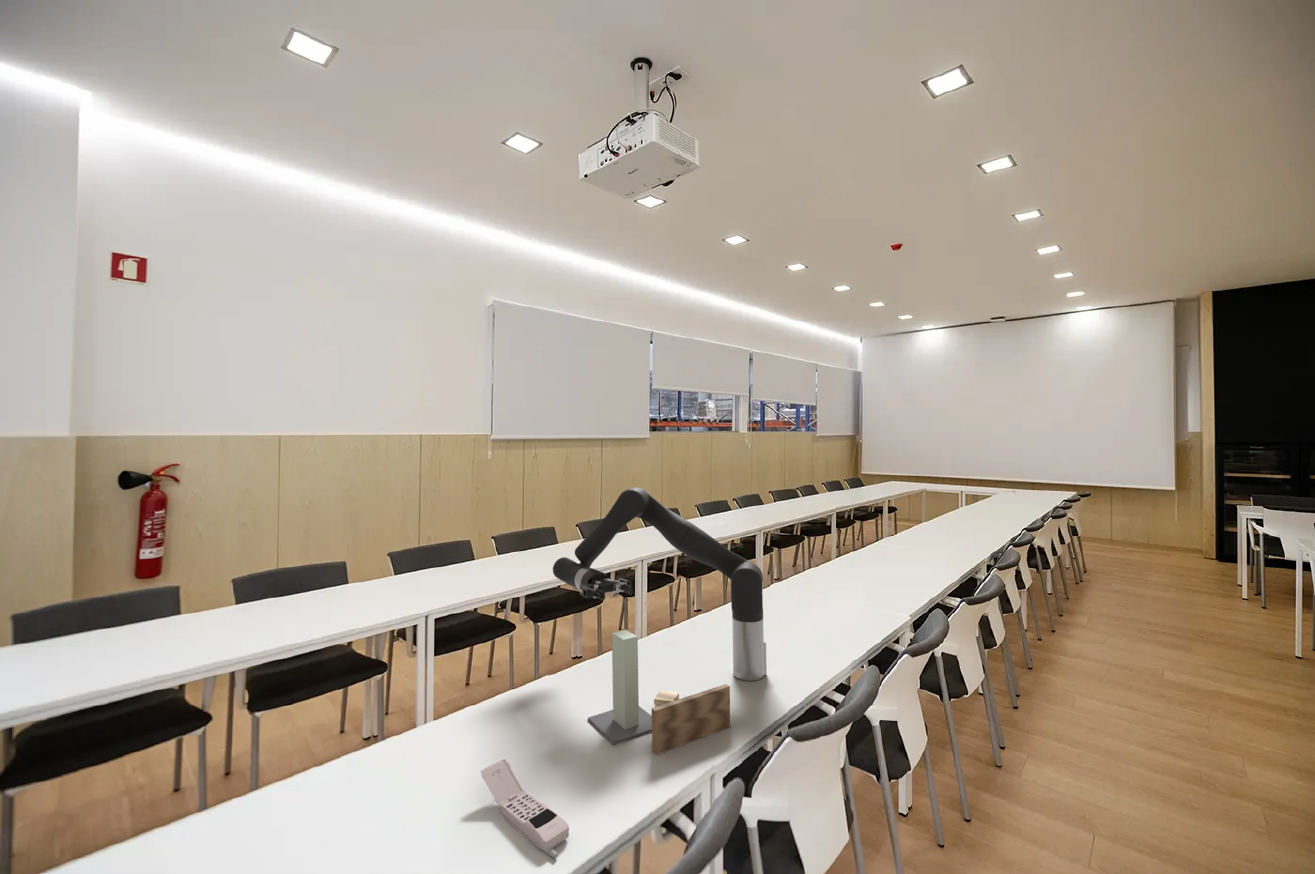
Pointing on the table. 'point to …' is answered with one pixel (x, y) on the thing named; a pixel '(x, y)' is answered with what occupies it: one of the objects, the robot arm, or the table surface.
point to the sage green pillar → (625, 678)
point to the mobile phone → (525, 809)
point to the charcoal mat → (617, 732)
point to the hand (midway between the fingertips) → (617, 593)
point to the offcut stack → (665, 697)
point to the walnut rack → (690, 718)
